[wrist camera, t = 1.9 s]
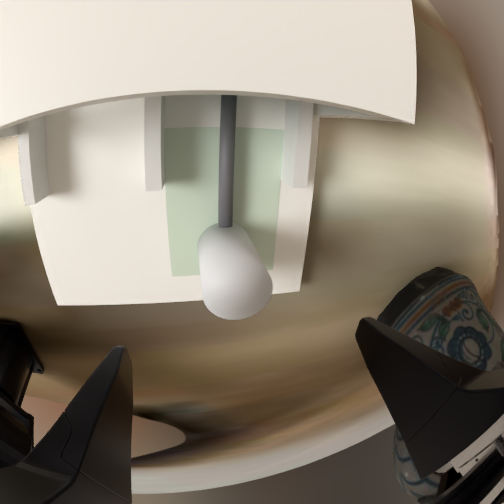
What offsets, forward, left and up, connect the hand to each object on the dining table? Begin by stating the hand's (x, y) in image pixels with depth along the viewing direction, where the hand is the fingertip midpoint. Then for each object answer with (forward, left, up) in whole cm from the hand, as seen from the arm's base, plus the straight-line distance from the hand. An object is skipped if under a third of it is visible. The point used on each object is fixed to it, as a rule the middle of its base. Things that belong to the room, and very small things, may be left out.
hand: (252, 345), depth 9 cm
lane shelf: (+7, +3, -10) cm, 12 cm away
